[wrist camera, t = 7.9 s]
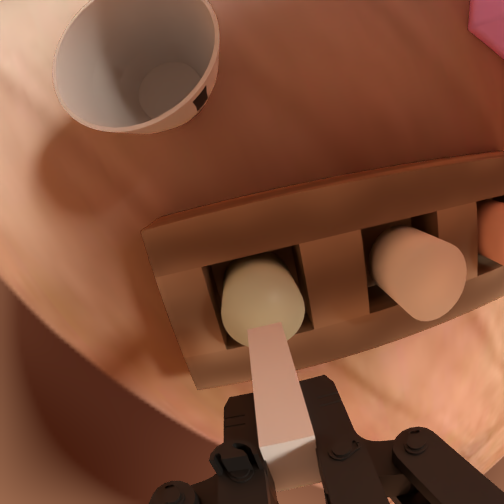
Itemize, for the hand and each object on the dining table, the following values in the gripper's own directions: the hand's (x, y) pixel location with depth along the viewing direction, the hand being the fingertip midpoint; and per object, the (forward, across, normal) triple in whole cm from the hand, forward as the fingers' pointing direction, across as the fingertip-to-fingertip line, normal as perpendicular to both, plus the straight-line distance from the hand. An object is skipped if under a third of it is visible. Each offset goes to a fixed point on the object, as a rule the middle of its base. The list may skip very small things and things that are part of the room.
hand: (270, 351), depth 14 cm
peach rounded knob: (+6, +10, 0) cm, 12 cm away
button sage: (+8, 0, 0) cm, 8 cm away
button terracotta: (+8, +20, 0) cm, 22 cm away
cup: (+12, -3, +14) cm, 19 cm away
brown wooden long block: (+11, +10, 0) cm, 15 cm away
